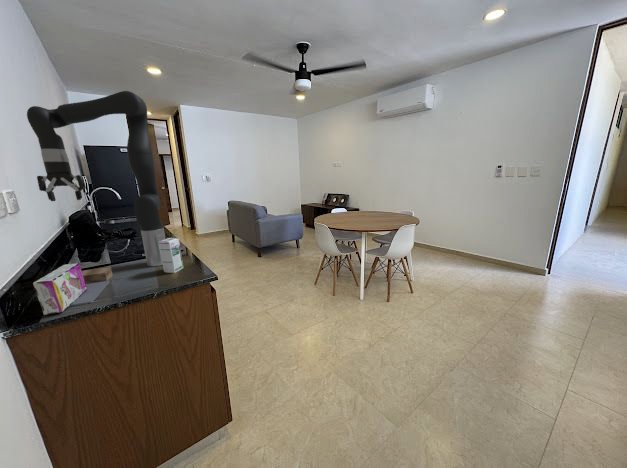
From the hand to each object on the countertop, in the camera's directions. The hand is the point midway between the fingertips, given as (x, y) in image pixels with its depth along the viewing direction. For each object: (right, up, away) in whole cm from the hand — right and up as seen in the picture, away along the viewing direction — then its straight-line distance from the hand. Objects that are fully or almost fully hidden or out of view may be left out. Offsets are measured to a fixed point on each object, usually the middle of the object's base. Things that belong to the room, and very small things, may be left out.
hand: (66, 200), depth 108 cm
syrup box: (+43, -31, +6) cm, 53 cm away
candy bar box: (+19, -30, -15) cm, 38 cm away
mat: (+20, -37, -15) cm, 45 cm away
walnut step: (+15, -34, -3) cm, 37 cm away
